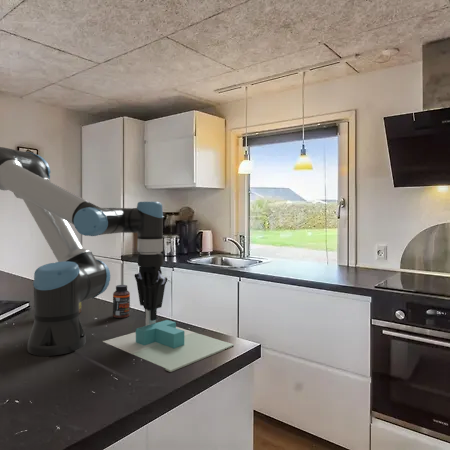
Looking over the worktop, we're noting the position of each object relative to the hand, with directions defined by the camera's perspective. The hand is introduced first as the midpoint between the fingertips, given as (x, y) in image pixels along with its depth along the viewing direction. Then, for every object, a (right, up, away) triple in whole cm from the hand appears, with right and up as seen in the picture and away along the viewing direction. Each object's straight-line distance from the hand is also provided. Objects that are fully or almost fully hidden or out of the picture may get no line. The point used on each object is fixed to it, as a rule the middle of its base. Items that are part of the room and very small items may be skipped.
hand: (150, 330), depth 117 cm
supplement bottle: (-15, -2, +24) cm, 28 cm away
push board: (+6, -3, -5) cm, 8 cm away
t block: (+5, -2, -4) cm, 7 cm away
